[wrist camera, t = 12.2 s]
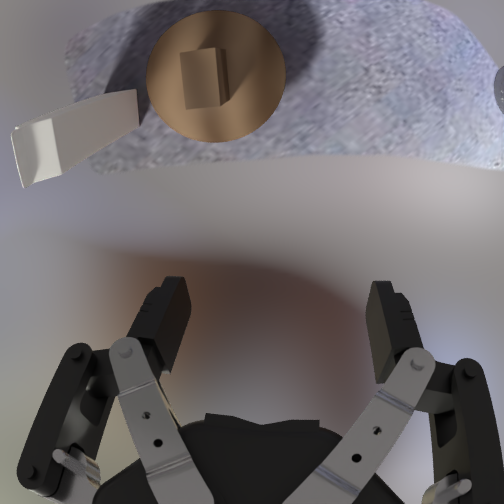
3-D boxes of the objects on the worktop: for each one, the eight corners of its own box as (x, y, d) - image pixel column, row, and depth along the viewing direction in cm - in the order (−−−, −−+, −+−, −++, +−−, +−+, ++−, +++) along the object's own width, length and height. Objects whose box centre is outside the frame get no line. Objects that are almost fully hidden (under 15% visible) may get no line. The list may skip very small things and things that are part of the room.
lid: (281, 6, 25) (279, -5, 20) (288, 138, 34) (287, 152, 29) (143, 25, 27) (118, 22, 22) (159, 145, 36) (138, 161, 31)
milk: (137, 88, 38) (30, 125, 20) (140, 127, 41) (44, 188, 23) (102, 93, 38) (-7, 136, 20) (106, 130, 42) (6, 191, 24)
